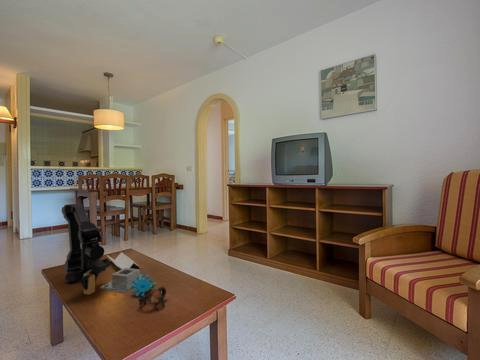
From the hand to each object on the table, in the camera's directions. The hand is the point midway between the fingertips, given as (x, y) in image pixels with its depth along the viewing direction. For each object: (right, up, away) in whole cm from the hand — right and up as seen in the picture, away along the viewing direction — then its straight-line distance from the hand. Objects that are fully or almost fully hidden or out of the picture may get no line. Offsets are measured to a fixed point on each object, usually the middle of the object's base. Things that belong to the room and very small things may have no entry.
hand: (89, 288), depth 112 cm
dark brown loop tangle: (+34, -3, -11) cm, 36 cm away
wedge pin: (0, -2, 0) cm, 2 cm away
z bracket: (-1, -2, +35) cm, 35 cm away
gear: (+26, -2, -1) cm, 26 cm away
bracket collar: (+12, -2, +10) cm, 16 cm away
